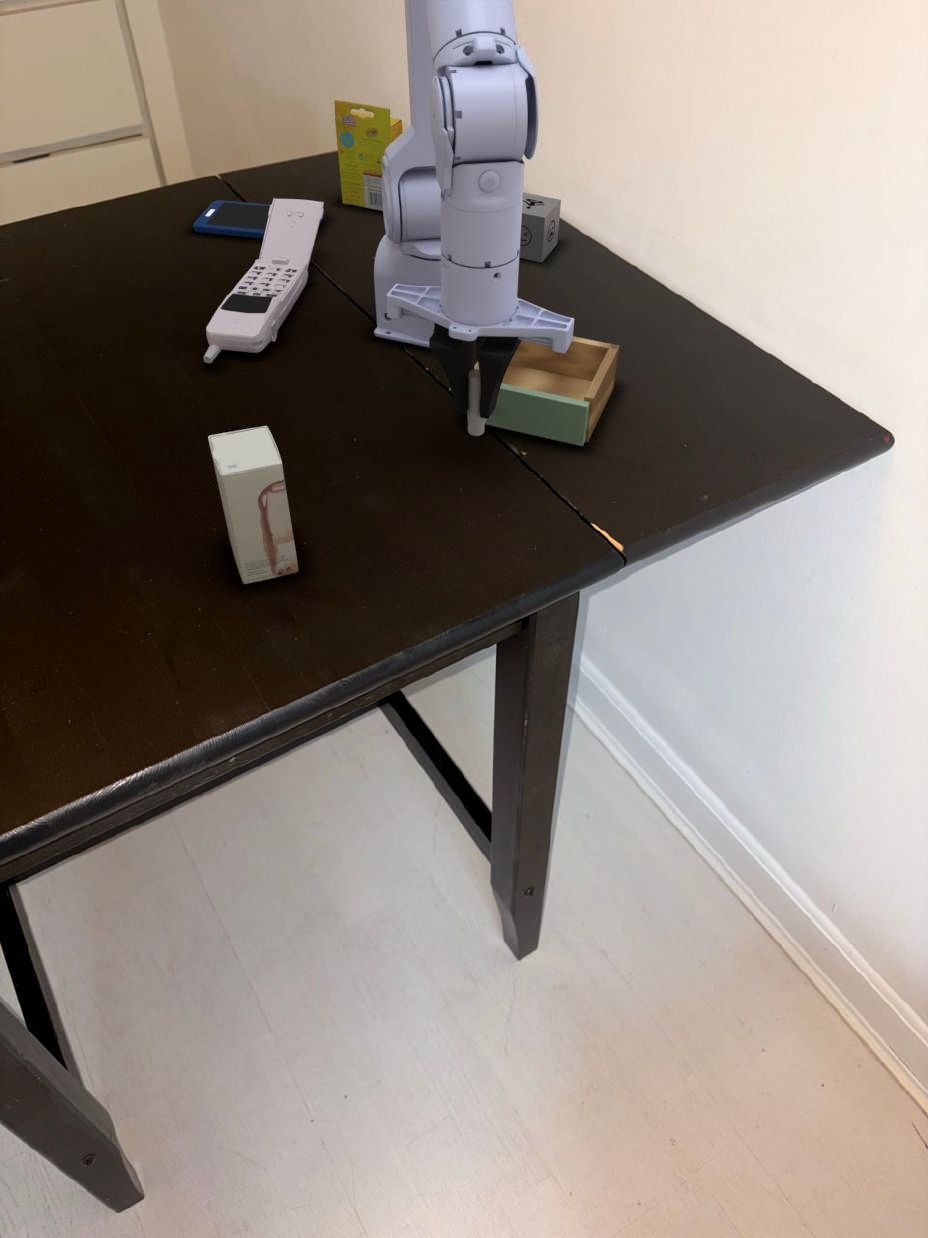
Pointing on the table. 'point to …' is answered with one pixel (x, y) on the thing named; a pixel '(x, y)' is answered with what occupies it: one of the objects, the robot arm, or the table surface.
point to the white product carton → (254, 503)
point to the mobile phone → (268, 281)
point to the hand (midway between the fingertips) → (476, 409)
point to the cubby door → (529, 413)
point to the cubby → (567, 372)
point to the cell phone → (234, 219)
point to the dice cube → (539, 226)
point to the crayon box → (363, 151)
